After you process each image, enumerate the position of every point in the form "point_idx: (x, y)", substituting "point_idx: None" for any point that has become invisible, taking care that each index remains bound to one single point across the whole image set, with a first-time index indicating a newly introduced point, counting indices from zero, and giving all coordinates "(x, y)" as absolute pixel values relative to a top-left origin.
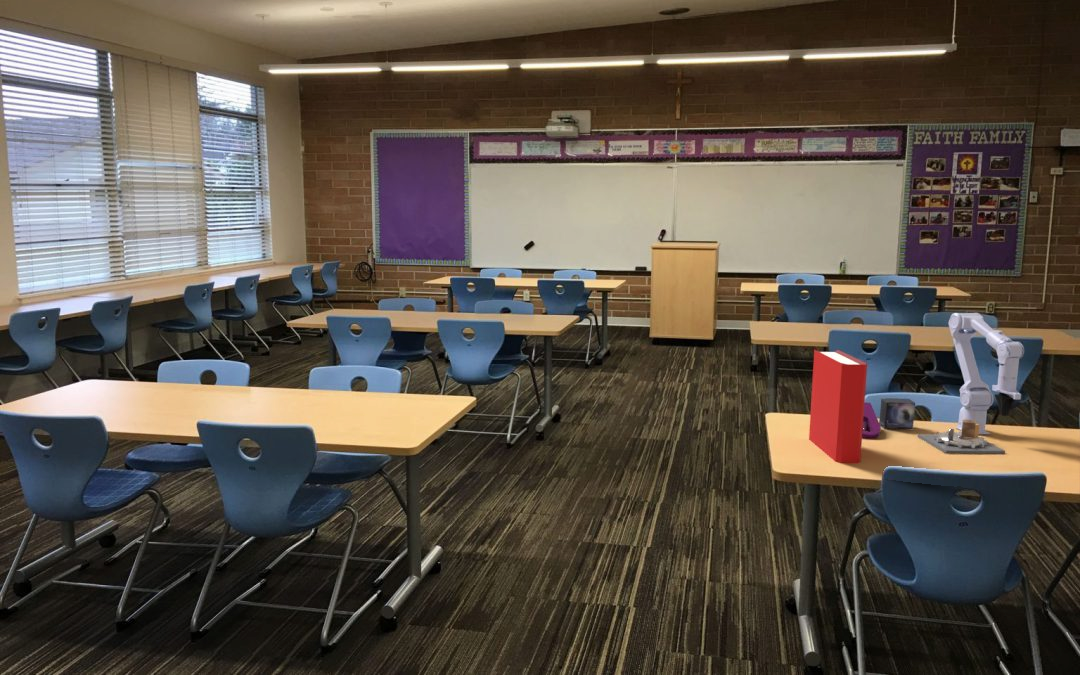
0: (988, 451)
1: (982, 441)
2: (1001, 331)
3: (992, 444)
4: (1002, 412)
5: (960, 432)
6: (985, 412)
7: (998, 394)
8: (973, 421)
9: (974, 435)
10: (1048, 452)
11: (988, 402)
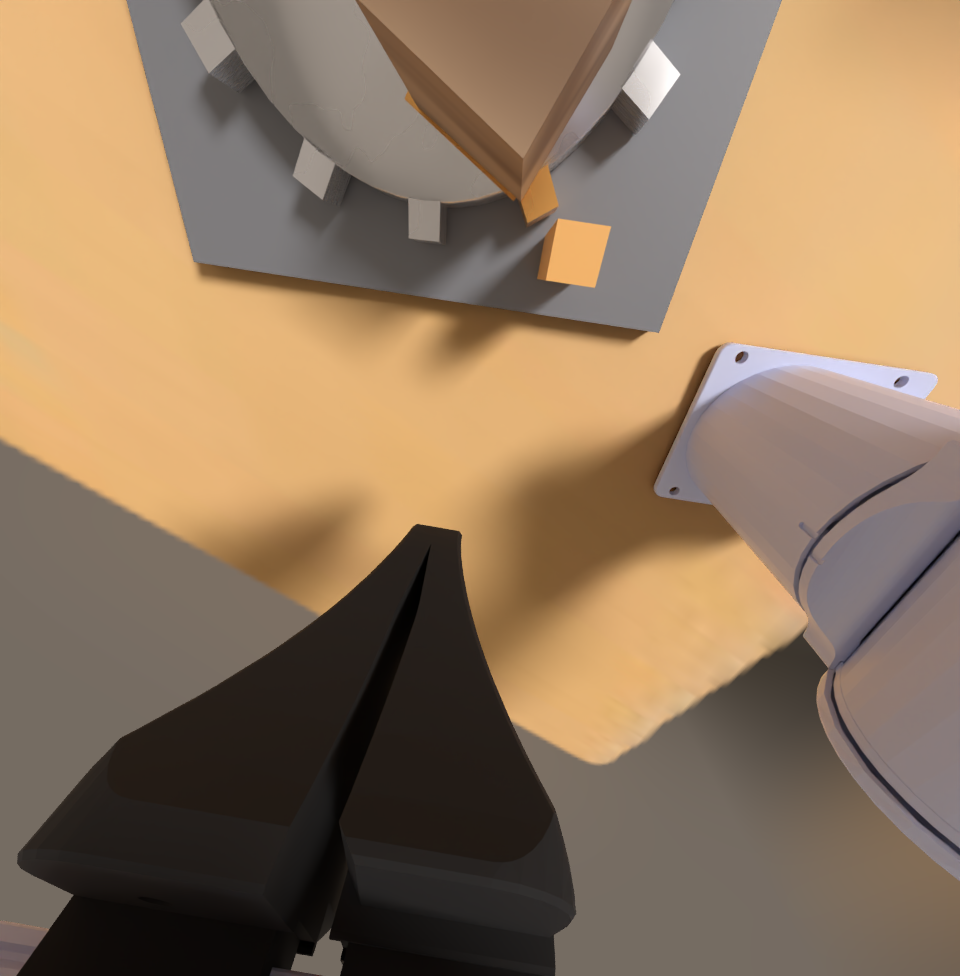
0: (150, 72)
1: (276, 104)
2: None
3: (363, 284)
4: (395, 548)
5: (657, 83)
6: (778, 569)
7: (518, 926)
8: (482, 59)
9: (411, 95)
10: (297, 536)
11: (860, 696)
